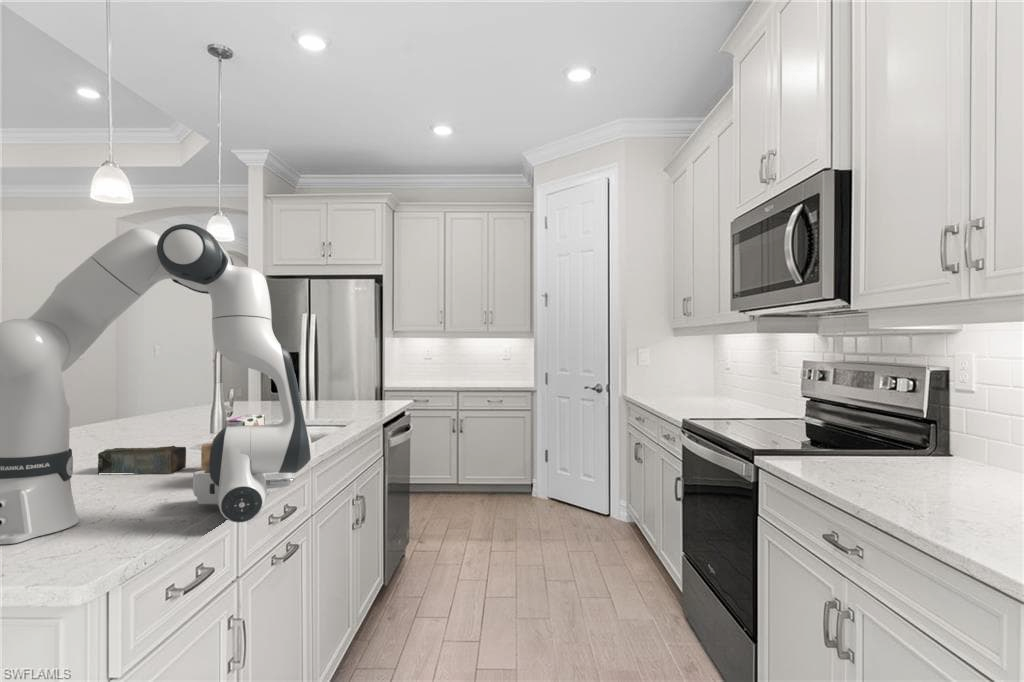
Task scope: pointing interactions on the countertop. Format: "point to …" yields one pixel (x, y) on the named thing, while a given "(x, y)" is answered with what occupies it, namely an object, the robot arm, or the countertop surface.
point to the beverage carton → (142, 460)
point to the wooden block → (205, 456)
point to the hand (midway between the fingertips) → (244, 471)
